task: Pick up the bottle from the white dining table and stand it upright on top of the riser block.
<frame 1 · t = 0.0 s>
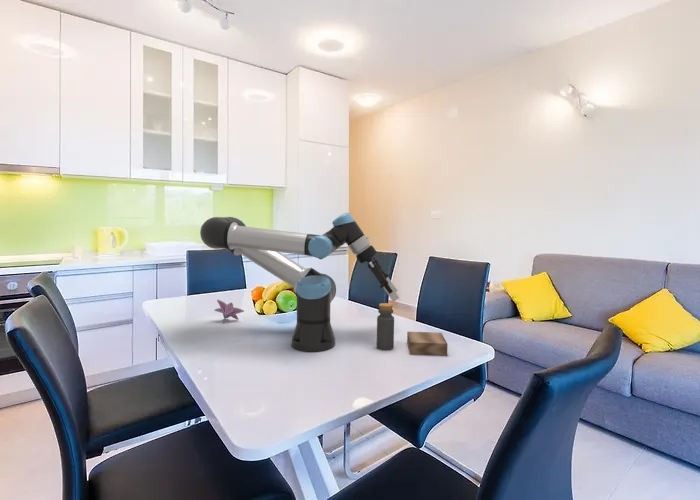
hand: (395, 296, 141), 15 cm above the table, tool tilted 35°, fingers open, 13 cm apart
bottle: (385, 347, 129), on the table
riser: (426, 348, 128), on the table
lily: (228, 322, 159), on the table
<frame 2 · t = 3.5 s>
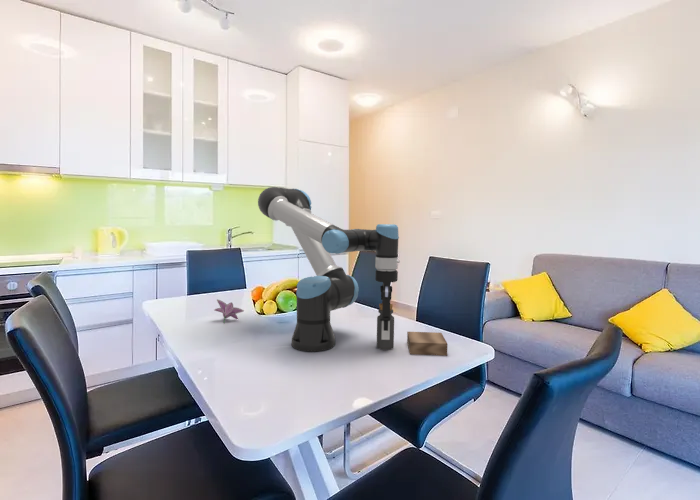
hand: (385, 336, 128), 4 cm above the table, tool pointing down, fingers closed on bottle, 6 cm apart
bottle: (385, 347, 129), on the table, touching gripper
everything else where it was.
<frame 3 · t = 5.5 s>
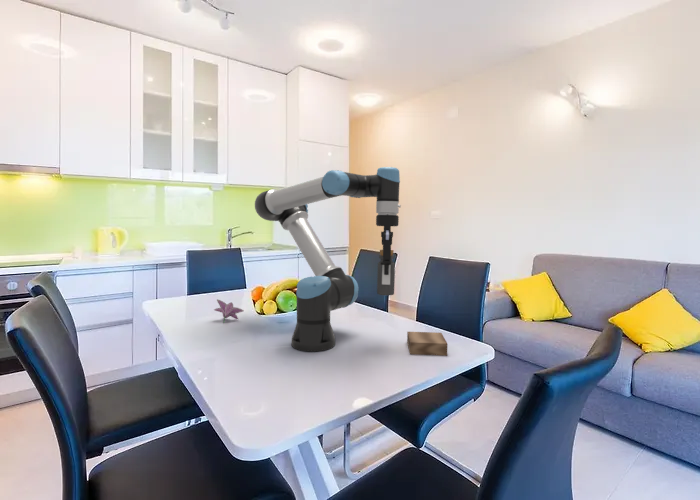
hand: (385, 282, 127), 23 cm above the table, tool pointing down, fingers closed on bottle, 6 cm apart
bottle: (385, 294, 127), point 18 cm above the table, touching gripper
everything else where it was.
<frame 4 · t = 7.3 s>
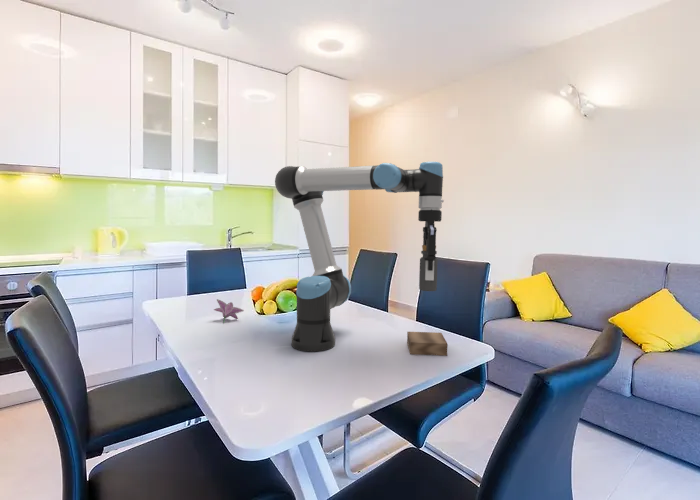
hand: (428, 278, 126), 24 cm above the table, tool pointing down, fingers closed on bottle, 6 cm apart
bottle: (427, 290, 126), point 20 cm above the table, touching gripper
everything else where it was.
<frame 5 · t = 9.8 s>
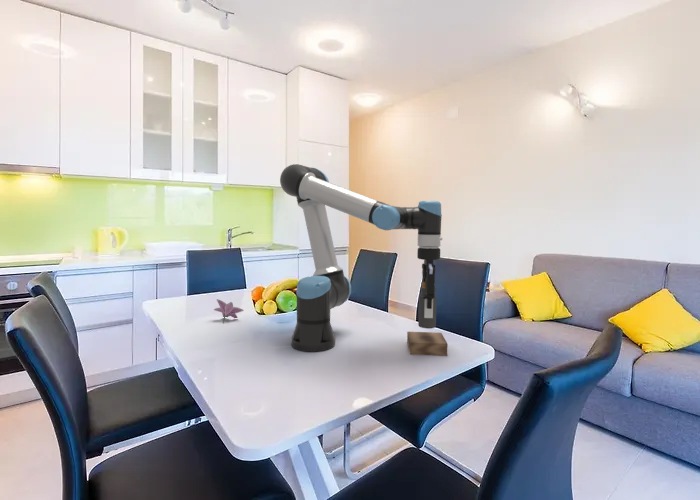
hand: (427, 315, 127), 12 cm above the table, tool pointing down, fingers closed on bottle, 6 cm apart
bottle: (427, 326, 127), point 8 cm above the table, touching gripper
when the fingers open (9 cm above the table, at t = 11.4 s): bottle stays where it is, resting on riser.
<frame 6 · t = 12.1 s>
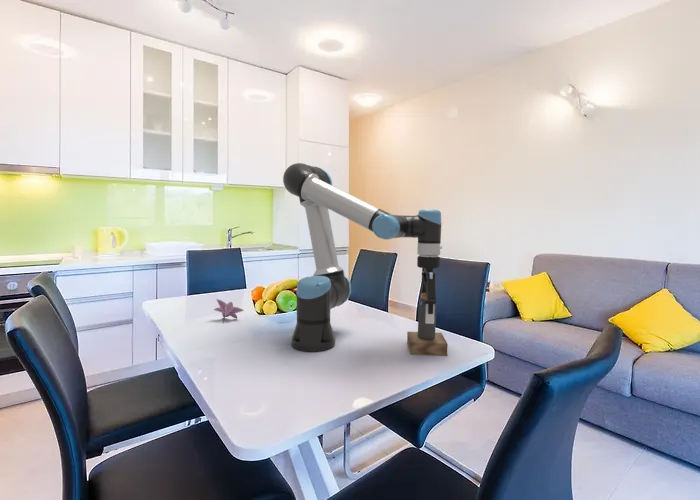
hand: (427, 318, 127), 11 cm above the table, tool pointing down, fingers open, 13 cm apart
bottle: (426, 337, 127), point 4 cm above the table, touching riser
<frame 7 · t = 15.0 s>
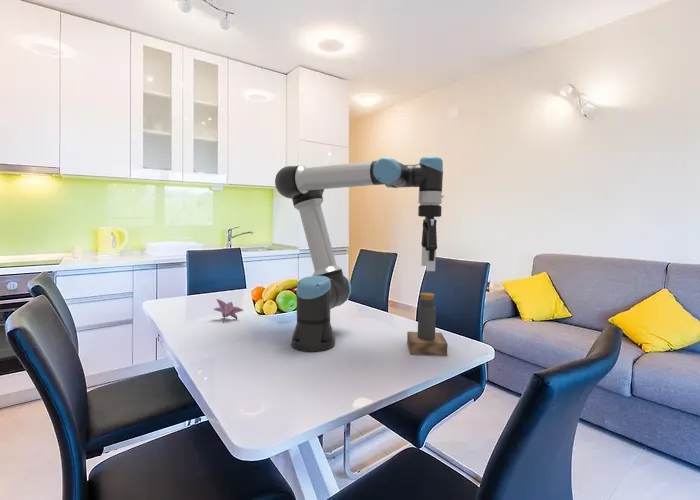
hand: (427, 268, 126), 28 cm above the table, tool pointing down, fingers open, 13 cm apart
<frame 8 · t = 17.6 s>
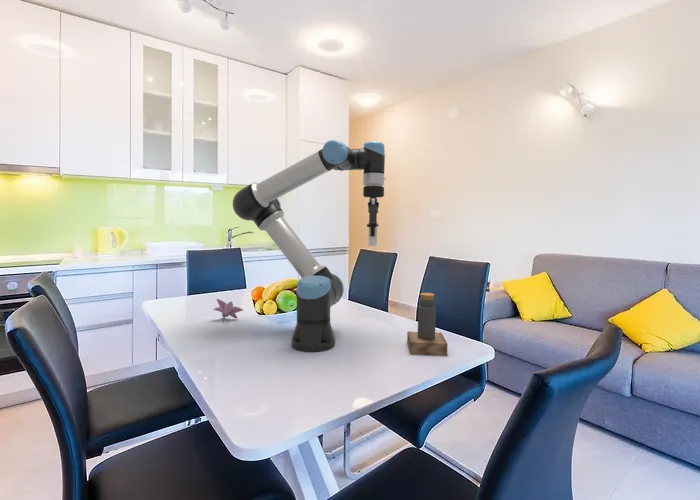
hand: (372, 244, 136), 35 cm above the table, tool pointing down, fingers open, 13 cm apart
at the end: bottle inside the target area on the riser (0.1 cm from its centre), point 3.8 cm above the riser's base; bottle tilted 0°; the gripper is holding nothing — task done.
